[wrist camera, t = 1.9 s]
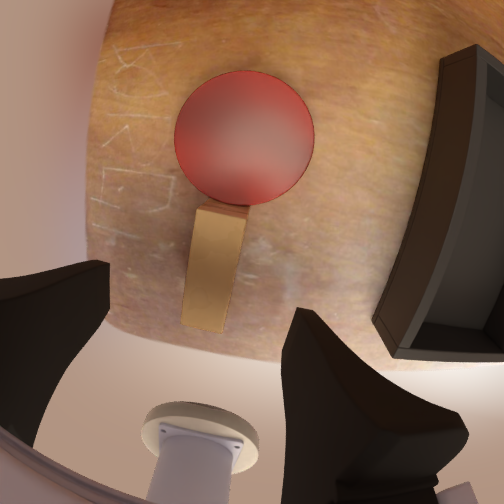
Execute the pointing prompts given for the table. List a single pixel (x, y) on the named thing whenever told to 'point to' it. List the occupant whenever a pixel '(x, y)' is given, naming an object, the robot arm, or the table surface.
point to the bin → (454, 227)
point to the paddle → (235, 175)
